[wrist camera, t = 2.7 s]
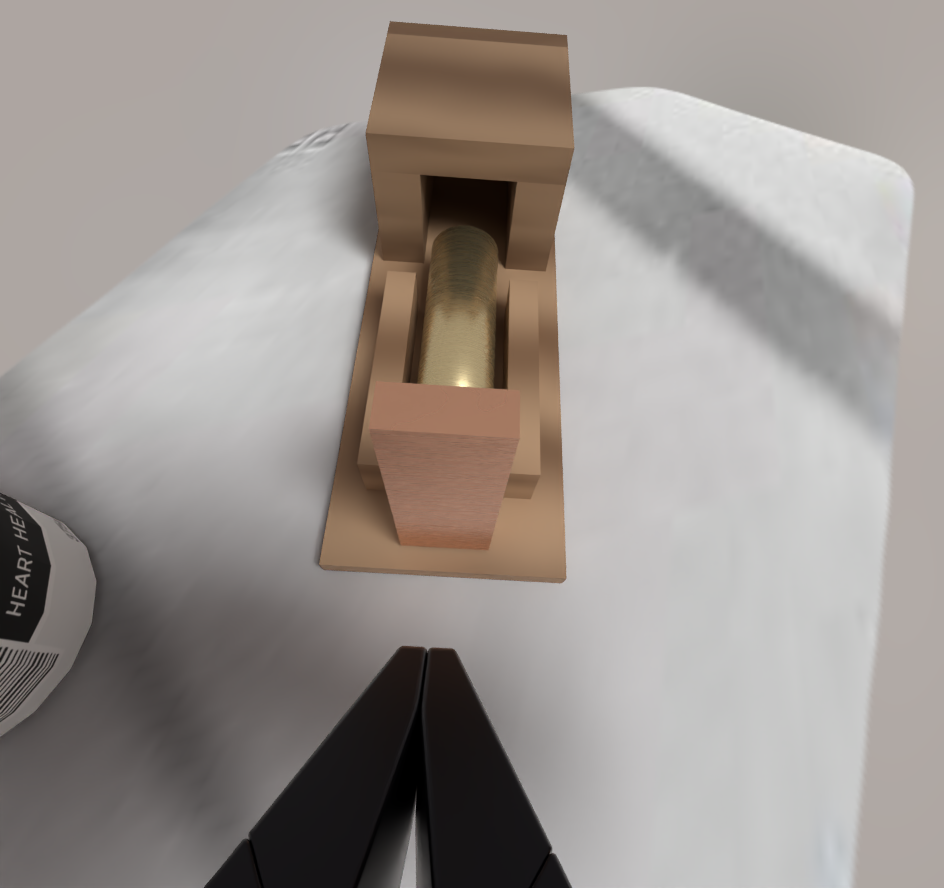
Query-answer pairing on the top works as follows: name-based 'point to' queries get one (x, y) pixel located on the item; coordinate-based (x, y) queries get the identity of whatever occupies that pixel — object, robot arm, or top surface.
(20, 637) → the supplement can
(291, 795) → the robot arm
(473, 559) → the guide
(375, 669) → the top surface
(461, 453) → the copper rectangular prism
